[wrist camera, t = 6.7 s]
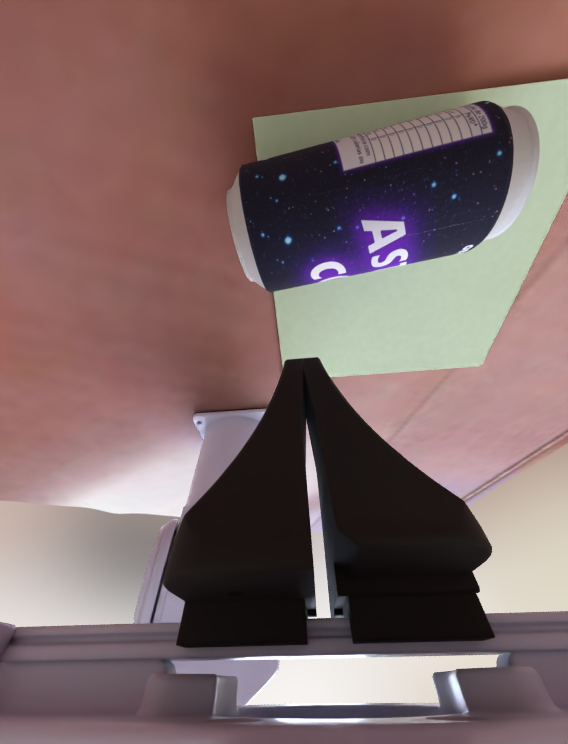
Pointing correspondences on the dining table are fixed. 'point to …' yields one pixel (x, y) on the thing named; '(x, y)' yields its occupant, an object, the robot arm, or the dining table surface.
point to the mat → (426, 278)
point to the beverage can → (384, 196)
